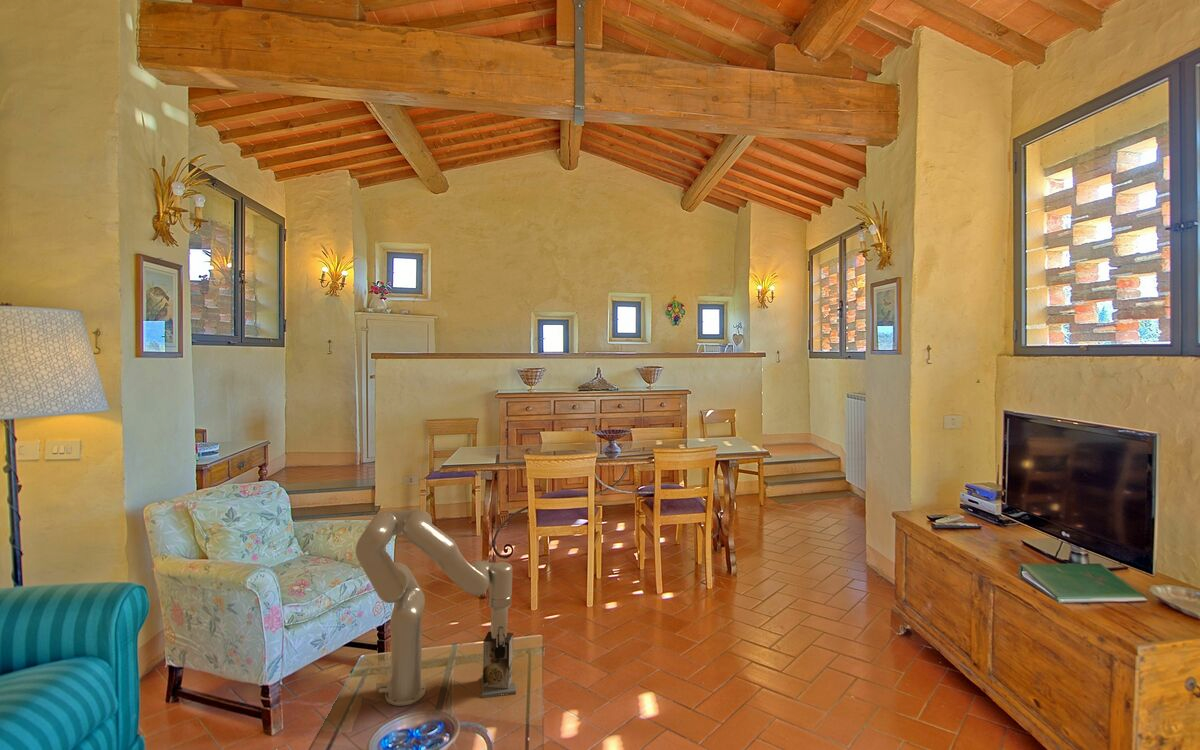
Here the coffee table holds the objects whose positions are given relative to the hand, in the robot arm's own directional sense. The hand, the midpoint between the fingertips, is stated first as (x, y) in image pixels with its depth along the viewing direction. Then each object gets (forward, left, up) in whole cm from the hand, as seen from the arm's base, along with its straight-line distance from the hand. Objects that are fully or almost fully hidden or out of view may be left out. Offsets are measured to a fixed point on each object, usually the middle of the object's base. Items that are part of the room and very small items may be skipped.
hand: (499, 649), depth 186 cm
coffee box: (0, 0, -12) cm, 12 cm away
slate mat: (0, 0, -13) cm, 13 cm away
